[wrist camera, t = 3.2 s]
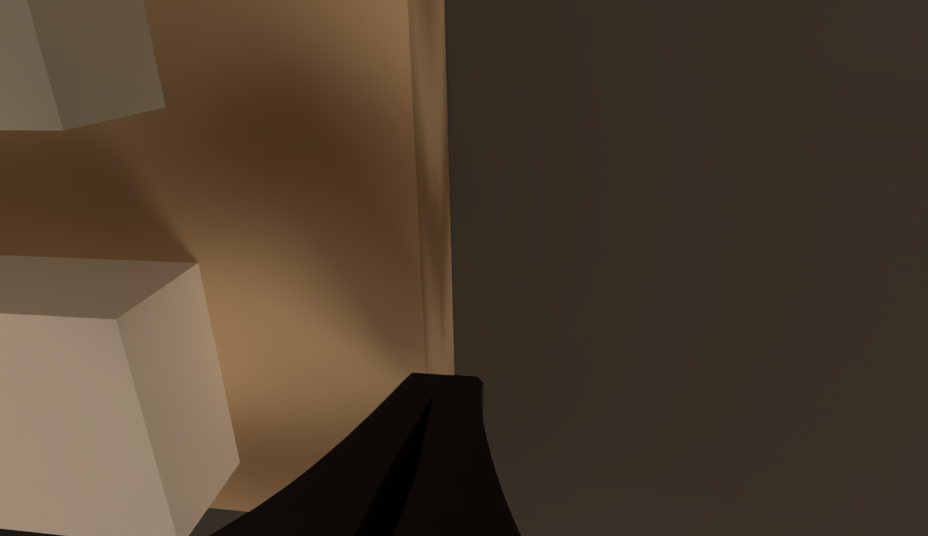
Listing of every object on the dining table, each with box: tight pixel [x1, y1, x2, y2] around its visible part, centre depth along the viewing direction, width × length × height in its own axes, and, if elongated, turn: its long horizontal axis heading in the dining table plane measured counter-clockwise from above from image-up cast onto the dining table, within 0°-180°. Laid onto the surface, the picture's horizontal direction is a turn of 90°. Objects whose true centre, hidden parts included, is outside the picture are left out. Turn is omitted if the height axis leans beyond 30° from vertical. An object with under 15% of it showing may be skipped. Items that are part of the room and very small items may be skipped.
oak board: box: [0, 0, 454, 512], centre depth 13 cm, size 16×14×4 cm
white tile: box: [0, 255, 240, 536], centre depth 12 cm, size 5×5×2 cm
